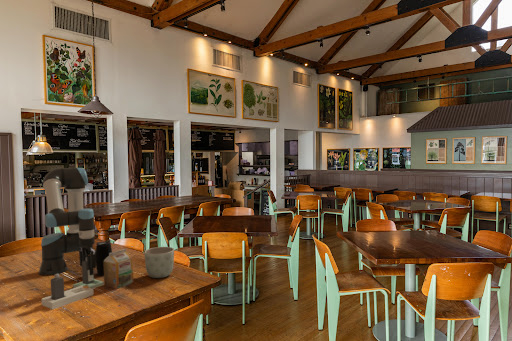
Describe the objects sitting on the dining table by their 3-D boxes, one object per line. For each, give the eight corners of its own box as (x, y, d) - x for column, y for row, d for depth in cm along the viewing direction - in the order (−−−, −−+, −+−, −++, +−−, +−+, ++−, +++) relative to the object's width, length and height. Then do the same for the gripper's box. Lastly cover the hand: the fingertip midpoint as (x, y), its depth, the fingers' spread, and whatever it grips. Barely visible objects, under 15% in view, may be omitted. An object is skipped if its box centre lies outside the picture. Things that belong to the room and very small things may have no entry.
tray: (73, 288, 186) (73, 284, 186) (92, 281, 196) (92, 278, 195) (84, 292, 180) (84, 288, 180) (103, 285, 189) (103, 281, 189)
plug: (82, 283, 188) (81, 257, 187) (89, 280, 191) (88, 256, 190) (86, 284, 185) (86, 258, 185) (93, 282, 189) (93, 257, 188)
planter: (180, 273, 207) (180, 248, 207) (161, 282, 192) (161, 255, 192) (158, 270, 215) (157, 245, 214) (138, 278, 199) (137, 252, 199)
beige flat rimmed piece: (41, 305, 164) (41, 297, 164) (82, 292, 180) (82, 283, 180) (52, 310, 158) (52, 301, 158) (93, 295, 175) (93, 287, 175)
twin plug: (51, 303, 165) (50, 274, 164) (60, 301, 168) (59, 272, 168) (55, 305, 162) (54, 276, 162) (64, 302, 166) (63, 273, 165)
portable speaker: (110, 276, 205) (108, 243, 204) (93, 277, 204) (92, 244, 203) (115, 271, 213) (113, 240, 212) (99, 272, 212) (98, 240, 212)
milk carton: (116, 290, 182) (115, 254, 182) (104, 286, 188) (103, 252, 187) (133, 283, 191) (132, 249, 191) (121, 280, 197) (119, 247, 196)
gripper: (71, 236, 189) (72, 279, 190) (89, 240, 179) (90, 285, 180) (84, 234, 195) (86, 275, 196) (102, 237, 186) (103, 280, 187)
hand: (88, 279), depth 188 cm, fingers closed on plug, 4 cm apart
